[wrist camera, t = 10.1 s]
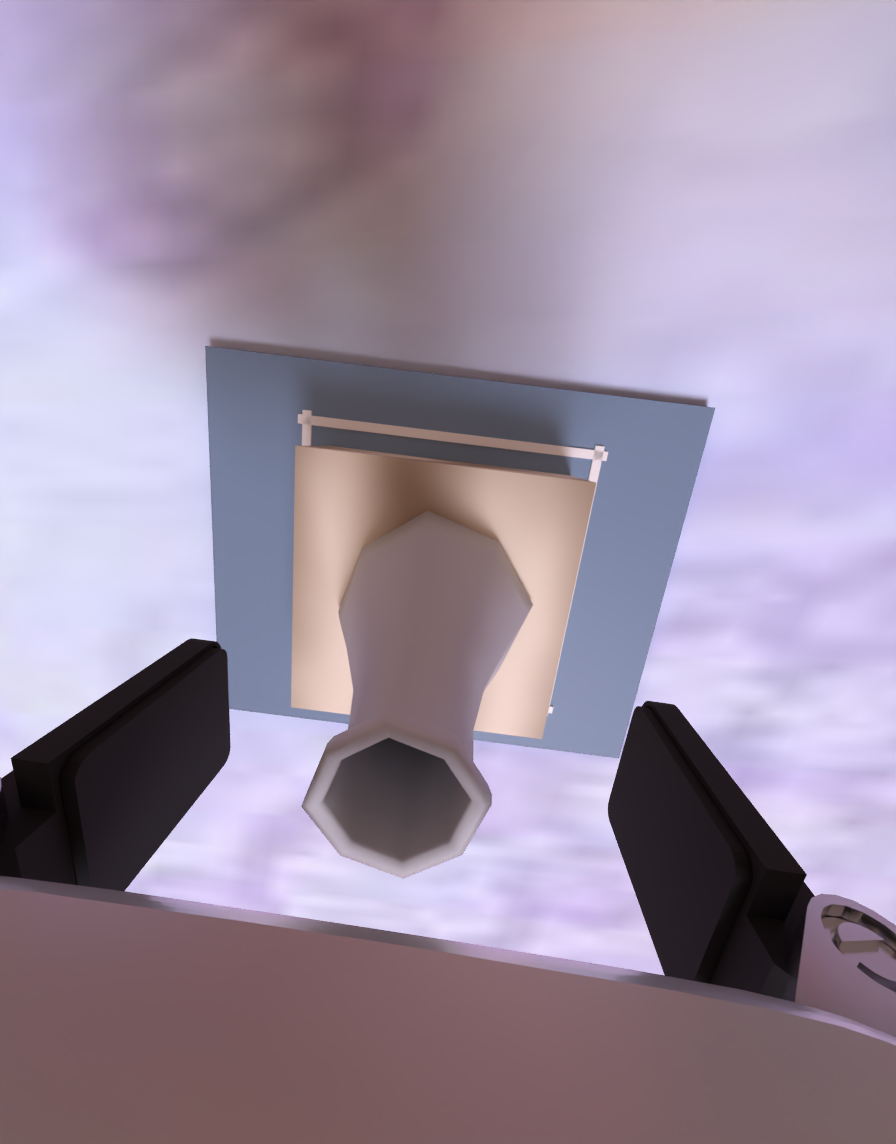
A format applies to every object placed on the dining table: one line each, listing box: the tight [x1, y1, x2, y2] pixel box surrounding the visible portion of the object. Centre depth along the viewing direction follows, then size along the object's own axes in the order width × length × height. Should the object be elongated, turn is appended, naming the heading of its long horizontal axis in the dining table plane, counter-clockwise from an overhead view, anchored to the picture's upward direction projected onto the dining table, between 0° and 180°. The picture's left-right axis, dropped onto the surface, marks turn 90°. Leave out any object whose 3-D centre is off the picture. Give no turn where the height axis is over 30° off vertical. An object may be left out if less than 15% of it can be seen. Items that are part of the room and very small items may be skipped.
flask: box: [302, 511, 533, 878], centre depth 12 cm, size 7×7×10 cm
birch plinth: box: [291, 446, 596, 739], centre depth 19 cm, size 11×11×4 cm
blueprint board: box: [205, 346, 715, 758], centre depth 21 cm, size 22×18×1 cm
